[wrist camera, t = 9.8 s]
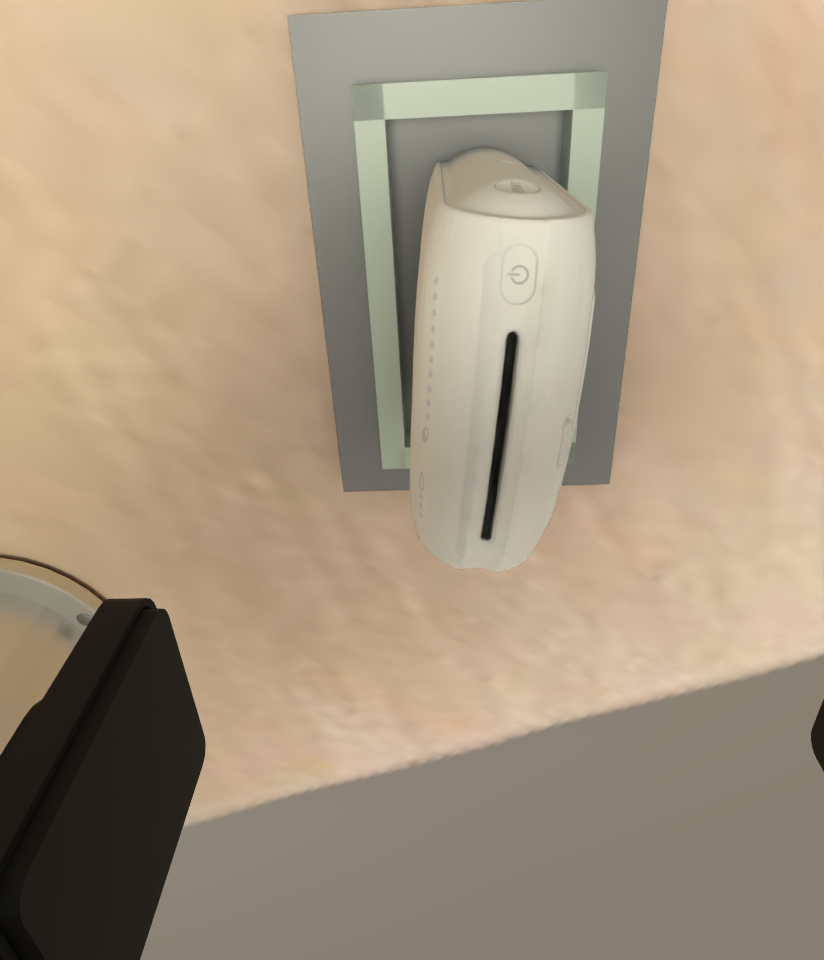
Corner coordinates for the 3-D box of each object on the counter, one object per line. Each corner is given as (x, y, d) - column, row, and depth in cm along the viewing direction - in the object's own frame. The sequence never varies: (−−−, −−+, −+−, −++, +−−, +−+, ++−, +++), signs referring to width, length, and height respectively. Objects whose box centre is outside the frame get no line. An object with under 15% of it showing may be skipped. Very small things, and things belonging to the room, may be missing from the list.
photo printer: (425, 138, 23) (420, 195, 13) (548, 145, 23) (646, 208, 13) (410, 409, 29) (398, 607, 18) (511, 414, 29) (558, 615, 18)
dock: (604, 472, 31) (617, 502, 29) (346, 480, 32) (340, 510, 30) (659, -5, 22) (684, -13, 20) (292, 17, 22) (278, 11, 20)
